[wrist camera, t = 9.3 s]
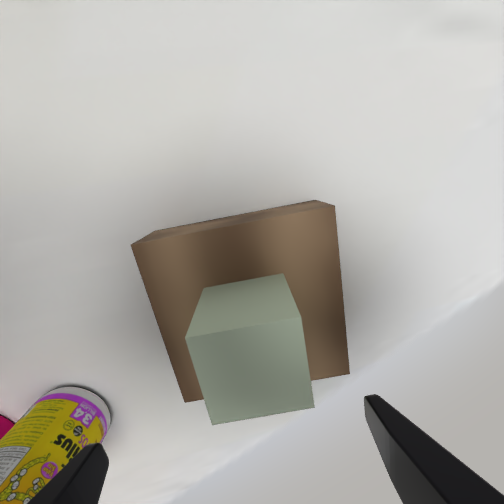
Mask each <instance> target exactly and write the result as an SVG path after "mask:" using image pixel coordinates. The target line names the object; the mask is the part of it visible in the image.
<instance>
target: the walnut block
mask: <svg viewBox="0 0 504 504" xmlns="http://www.w3.org/2000/svg"><path fill="white" fill-rule="evenodd" d="M131 247H132V250H133V253H134V256H135V259H136V262H137V265H138V268H139V271H140V274H141V277H142V279H143V282H144V285H145V288H146V291H147V294H148V297H149V300H150V303H151V306H152V309H153V311H154V314H155V317H156V320H157V323H158V326H159V329H160V332H161V335H162V338H163V341H164V344H165V346H166V349H167V352H168V355H169V358H170V361H171V364H172V367H173V370H174V373H175V376H176V379H177V381H178V384H179V387H180V390H181V393H182V396H183V399H184V402H185V403H186V402H191V401H197V400H203V399H204V397H203V394H202V391H201V388H200V385H199V381H198V378H197V375H196V372H195V369H194V365H193V362H192V359H191V356H190V353H189V349H188V346H187V343H186V340H185V336H186V334H187V331H188V329H189V326H190V323H191V321H192V318H193V315H194V313H195V310H196V307H197V305H198V302H199V299H200V297H201V294H202V291H203V289H204V288H206V287H212V286H217V285H223V284H228V283H233V282H239V281H244V280H249V279H255V278H260V277H265V276H271V275H276V274H282V273H283V274H284V276H285V279H286V281H287V284H288V286H289V289H290V291H291V293H292V296H293V298H294V301H295V303H296V306H297V308H298V310H299V313H300V315H301V319H302V326H303V333H304V339H305V346H306V353H307V360H308V366H309V373H310V380H311V381H312V380H318V379H323V378H329V377H335V376H341V375H346V374H350V371H349V359H348V348H347V337H346V326H345V315H344V304H343V292H342V281H341V270H340V259H339V248H338V237H337V225H336V214H335V206H334V205H331V204H327V203H324V202H321V201H317V200H313V201H307V202H302V203H297V204H292V205H287V206H282V207H276V208H271V209H266V210H261V211H256V212H250V213H245V214H240V215H235V216H230V217H225V218H219V219H214V220H209V221H204V222H199V223H193V224H188V225H183V226H178V227H173V228H168V229H162V230H157V231H154V232H152V233H150V234H149V235H147V236H145V237H143V238H142V239H140V240H138V241H137V242H135V243H133V244H131Z"/></svg>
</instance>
